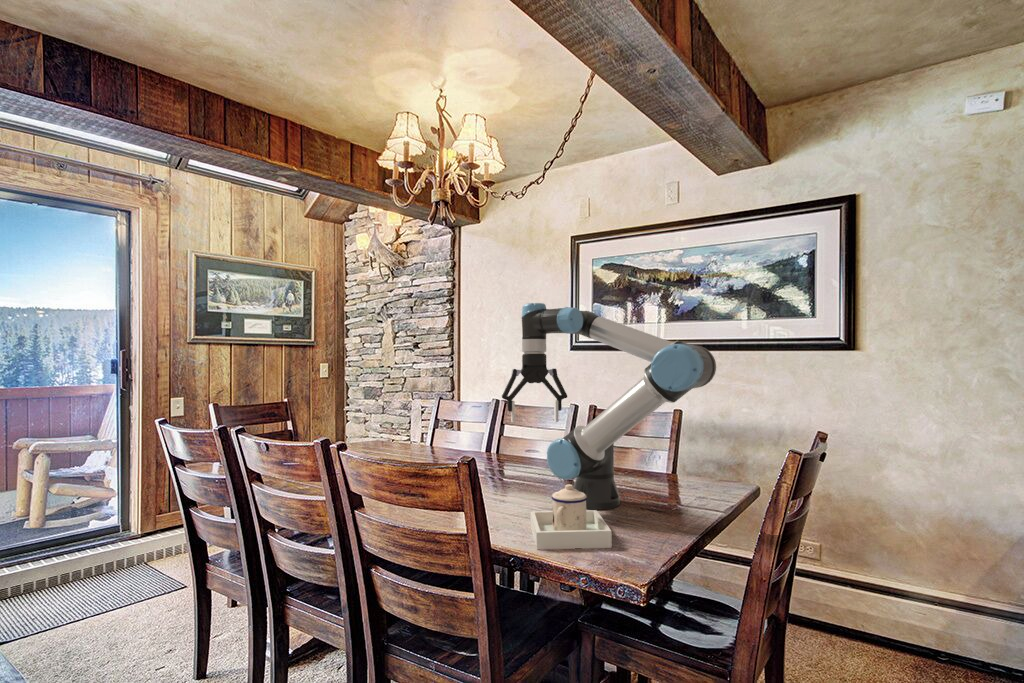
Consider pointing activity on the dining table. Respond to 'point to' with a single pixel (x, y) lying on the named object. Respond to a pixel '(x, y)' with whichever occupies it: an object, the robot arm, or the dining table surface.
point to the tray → (570, 532)
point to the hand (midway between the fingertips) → (534, 421)
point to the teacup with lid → (569, 509)
